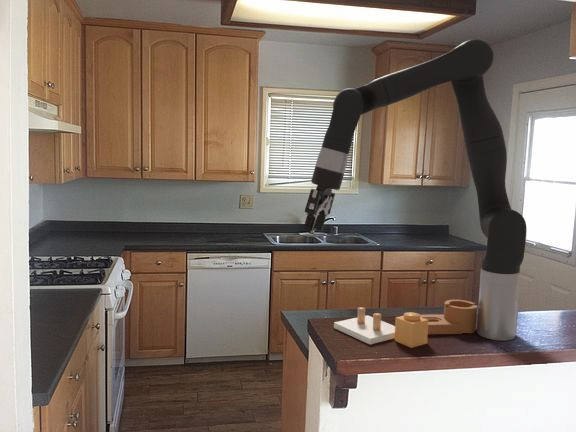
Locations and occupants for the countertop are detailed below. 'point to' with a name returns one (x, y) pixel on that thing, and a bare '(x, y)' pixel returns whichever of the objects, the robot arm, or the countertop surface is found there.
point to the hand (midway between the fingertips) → (312, 230)
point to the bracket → (453, 318)
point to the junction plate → (367, 328)
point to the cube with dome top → (411, 329)
